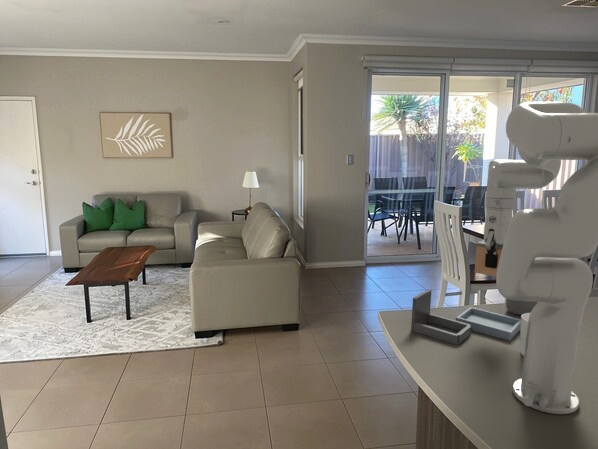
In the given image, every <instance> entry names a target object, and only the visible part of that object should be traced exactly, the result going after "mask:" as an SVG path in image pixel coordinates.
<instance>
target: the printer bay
mask: <svg viewBox="0 0 598 449" xmlns="http://www.w3.org/2000/svg"><path fill="white" fill-rule="evenodd" d="M432 292H433V291H432V289H427V290H424V291H423V292H421V293H419V294H417V295H416V296H413V298H412V307H411V308H412V309H411V325H410V326H411V327H410V331H412V332H415V333H418V334H422V335H425V336H429V337H431V338H433V339H438V340H441V341H444V342H447V343H449V344H450V343H451V344H453V345H458V344H462V342H463V341H465V340H466V339H467V338H468V337H469V336H470V335H471V332H472V330H471V325H470V324H467V323H463V322H459V321H456V319H451V318H449V317H444V316H440V315H437V314H434V313H431V304H432V303H431V302H432ZM428 323H430V324H434V325H437V326H440V327H444V328H447V329H450V330H454V331H458V332H457V333H454V332H450V331H447V330H444V329H440V328H436V327H434V326H431V325H427V324H428Z"/></svg>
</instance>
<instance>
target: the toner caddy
mask: <svg viewBox="0 0 598 449" xmlns="http://www.w3.org/2000/svg"><path fill="white" fill-rule="evenodd" d="M492 243H494V244H496V242H494V241H492ZM485 244H486V243H485V242H484V239H482V240H480V241H478V242H476V247H475V248H476V252H475V263H474V264H475V265H474V274H480V275H485V276H490V277H497V269H498V265H499V260H500V256H501V252H502V248H503V245H498V250H497V255H498V261H497V268H496V269H494V268H489V267H485V257H486V246H485ZM493 247H494V249H495V246H493Z"/></svg>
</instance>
